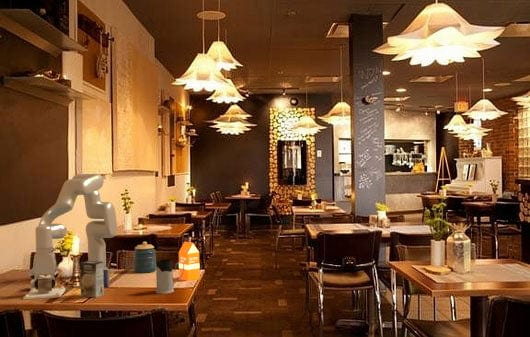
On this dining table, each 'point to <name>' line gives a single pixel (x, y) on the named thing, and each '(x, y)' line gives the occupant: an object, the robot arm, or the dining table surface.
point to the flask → (106, 277)
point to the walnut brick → (44, 284)
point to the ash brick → (33, 284)
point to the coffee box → (92, 279)
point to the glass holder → (165, 276)
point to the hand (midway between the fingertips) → (45, 287)
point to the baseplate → (44, 294)
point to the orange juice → (189, 262)
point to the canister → (144, 258)
